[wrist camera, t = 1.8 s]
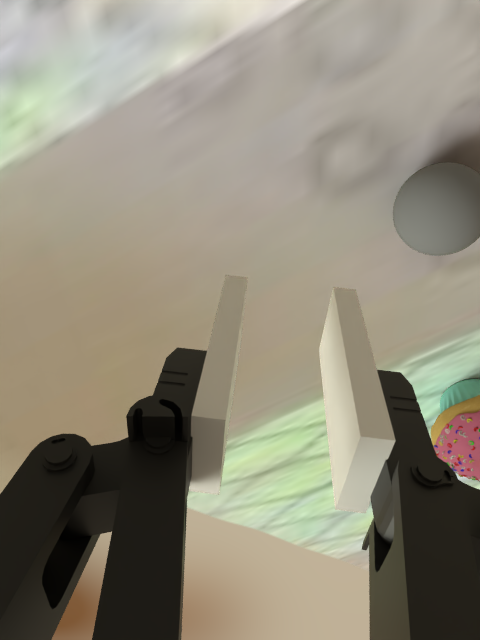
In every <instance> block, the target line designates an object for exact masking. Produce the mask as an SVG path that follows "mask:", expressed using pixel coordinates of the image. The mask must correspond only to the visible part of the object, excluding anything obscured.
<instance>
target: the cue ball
mask: <svg viewBox="0 0 480 640" xmlns="http://www.w3.org/2000/svg"><path fill="white" fill-rule="evenodd" d="M393 221H394V225H395V228H396V230H397V233H398V234H399V236H400V238H401V239H402V240H403V241H404V242H405V243H406V244H407V245H408V246H409V247H411V248H412V249H414V250H416V251H418V252H420V253H423V254H427V255H434V256H441V255H449V254H453V253H456V252H459V251H461V250H463V249H465V248H467V247H468V246H470V245H471V244H472V243H474V242H475V241H476V240H477V239H478V238H479V237H480V174H479V173H478V172H476V171H475V170H474V169H472V168H470V167H468V166H466V165H462V164H458V163H451V162H444V163H437V164H433V165H430V166H427V167H425V168H423V169H421V170H419V171H417V172H416V173H415V174H413V175H412V176H411V177H410V178H409V179H408V180H407V181H406V182H405V183H404V184H403V186H402V187H401V189H400V190H399V192H398V194H397V196H396V199H395V202H394V207H393Z"/></svg>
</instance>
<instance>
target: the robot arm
mask: <svg viewBox="0 0 480 640" xmlns="http://www.w3.org/2000/svg"><path fill="white" fill-rule="evenodd" d="M247 279H248V278H247V277H238V276H229V275H226V276H225V280H224V284H223V288H222V292H221V297H220V301H219V305H218V309H217V313H216V317H215V321H214V325H213V329H212V333H211V337H210V341H209V346H208V350H207V351H202V350H194V349H185V348H176V349H175V350H174V351H173V352H172V353H171V354H170V355H169V356H168V357H167V358H166V361H165V363H164V366H163V369H162V373H161V374H160V377H159V380H158V383H157V386H156V388H155V391H154V394H153V396H148V397H146V398H144V399H141V400H139V401H137V402H136V403H135V404H134V405H133V406H132V407H131V408H130V410H129V412H128V414H127V416H126V417H127V427H128V437H127V438H125V439H123V440H121V441H117V442H113V443H108V444H101V445H94V446H91V445H90V444H89V442H88V441H87V440H86V439H85V438H83V437H81V436H78V435H76V434H60V435H56V436H52V437H50V438H48V439H46V440H44V441H42V442H41V443H39V444H38V445H37V446H36V447H35V448H34V449H33V450H32V451H31V453H30V454H29V455H28V457H27V458H26V460H25V461H24V462H23V464H22V465H21V467H20V468H19V469H18V471H17V472H16V474H15V475H14V476H13V478H12V479H11V480H10V482H9V483H8V485H7V486H6V487H5V489H4V490H3V492H2V493H1V494H0V640H51V639H52V637H53V635H54V633H55V630H56V628H57V626H58V624H59V622H60V620H61V618H62V615H63V613H64V611H65V609H66V607H67V604H68V602H69V600H70V598H71V596H72V594H73V592H74V589H75V587H76V585H77V583H78V581H79V579H80V577H81V575H82V572H83V570H84V568H85V566H86V564H87V562H88V559H89V557H90V555H91V553H92V551H93V549H94V547H95V544H96V542H97V540H98V538H99V536H100V534H102V533H107V532H111V531H112V535H111V541H110V546H109V552H108V558H107V563H106V568H105V573H104V579H103V584H102V589H101V595H100V600H99V605H98V611H97V617H96V621H95V627H94V633H93V638H92V640H181V632H182V608H183V584H184V583H183V582H184V560H185V537H186V513H187V496H188V491H189V486H190V491H193V492H201V493H209V494H217V495H219V493H220V486H221V479H222V472H223V465H224V458H225V451H226V444H227V437H228V430H229V423H230V416H231V409H232V402H233V395H234V388H235V381H236V374H237V367H238V361H239V354H240V347H241V339H242V329H243V319H244V309H245V299H246V289H247ZM319 354H320V364H321V374H322V383H323V393H324V403H325V413H326V423H327V433H328V443H329V452H330V462H331V472H332V482H333V492H334V502H335V510H343V511H351V512H359V513H366V511H367V508H368V506H369V504H370V501H371V504H372V509H373V515H374V518H373V521H372V523H371V525H370V527H369V530H368V532H367V534H366V537H365V539H364V541H363V546H362V549H363V550H367V548H368V545H369V575H370V577H369V581H370V583H369V584H370V640H480V490H479V489H476V488H473V487H471V486H469V485H467V484H465V483H463V482H461V481H459V480H458V479H457V476H456V474H455V472H454V471H453V470H452V469H451V468H450V466H449V465H448V464H447V463H446V462H444V461H443V460H441V459H440V458H438V457H437V455H436V453H435V450H434V447H433V444H432V441H431V438H430V436H429V433H428V430H427V427H426V424H425V421H424V418H423V416H422V414H421V410H420V407H419V404H418V402H417V399H416V396H415V393H414V390H413V387H412V385H411V384H410V383H409V382H408V380H407V379H406V378H405V377H404V376H403V375H402V374H401V373H400V372H391V371H383V370H377V368H376V364H375V361H374V357H373V353H372V349H371V346H370V342H369V338H368V334H367V330H366V327H365V323H364V319H363V315H362V312H361V308H360V304H359V300H358V296H357V293H356V290H354V289H345V288H336V287H333V292H332V296H331V300H330V305H329V309H328V313H327V318H326V322H325V326H324V331H323V335H322V340H321V344H320V348H319Z"/></svg>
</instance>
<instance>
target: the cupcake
mask: <svg viewBox="0 0 480 640" xmlns="http://www.w3.org/2000/svg"><path fill="white" fill-rule="evenodd" d="M431 438H432V444H433V447H434V450H435V453H436V455H437V457H438V458H440V459H441V460H443V461H444V462H446V463H447V464H448V465H449V466H450V468H451V469H452V470H453V471H454V472H455V473H457V474H459V476H460V475H461V476H460V477H463V476H464V477H467V478H468V479H470V478H471V479H472V480H478V481H480V379H469V380H464V381H461V382H458V383H456V384H454V385H452V386H451V387H449V388H448V389H447V390H446V391H445V392H444V393H443V395H442V397H441V400H440V415H439V416H438V418H437V419H436V421H435V423H434V425H433V426H432V428H431Z"/></svg>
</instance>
